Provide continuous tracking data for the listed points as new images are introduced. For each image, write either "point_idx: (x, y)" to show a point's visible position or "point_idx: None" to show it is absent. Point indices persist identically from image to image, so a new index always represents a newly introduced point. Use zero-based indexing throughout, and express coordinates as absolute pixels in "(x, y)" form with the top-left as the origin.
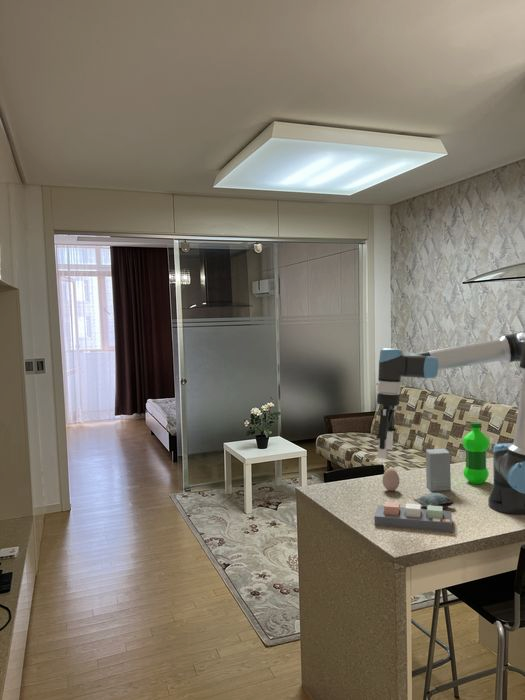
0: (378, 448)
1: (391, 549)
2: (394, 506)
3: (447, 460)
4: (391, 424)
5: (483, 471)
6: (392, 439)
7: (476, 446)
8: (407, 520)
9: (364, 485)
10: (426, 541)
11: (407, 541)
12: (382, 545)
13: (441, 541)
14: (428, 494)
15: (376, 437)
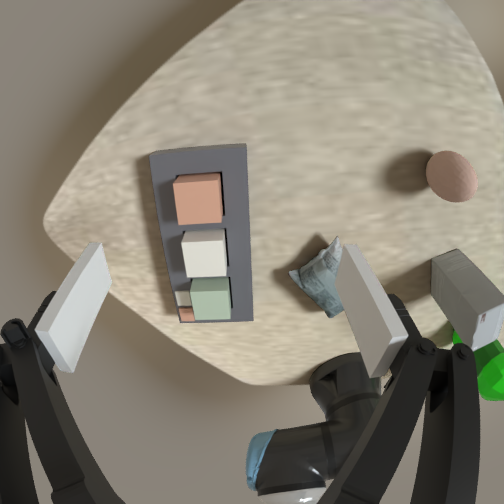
0: (65, 280)
1: (55, 215)
2: (181, 213)
3: (461, 336)
4: (359, 438)
5: None
6: (353, 332)
7: (483, 382)
8: (162, 238)
9: (460, 98)
10: (117, 270)
11: (99, 238)
12: (61, 196)
13: (131, 293)
14: None
15: (4, 325)
